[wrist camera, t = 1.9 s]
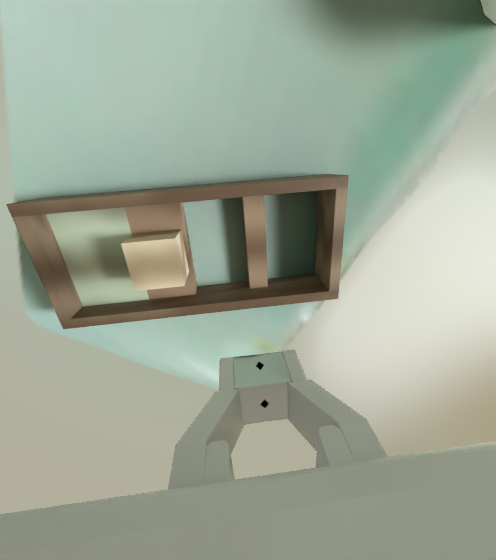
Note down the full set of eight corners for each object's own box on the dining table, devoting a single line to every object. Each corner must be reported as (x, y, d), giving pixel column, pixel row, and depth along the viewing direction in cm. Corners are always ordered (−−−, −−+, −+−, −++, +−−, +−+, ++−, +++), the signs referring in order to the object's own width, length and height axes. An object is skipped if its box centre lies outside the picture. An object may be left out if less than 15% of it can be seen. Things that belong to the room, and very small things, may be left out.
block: (134, 233, 24) (120, 243, 21) (181, 229, 24) (175, 238, 21) (145, 276, 26) (134, 291, 23) (189, 271, 26) (184, 285, 23)
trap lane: (43, 198, 24) (6, 204, 20) (328, 174, 26) (348, 175, 21) (85, 306, 29) (63, 329, 25) (322, 281, 31) (338, 298, 26)
